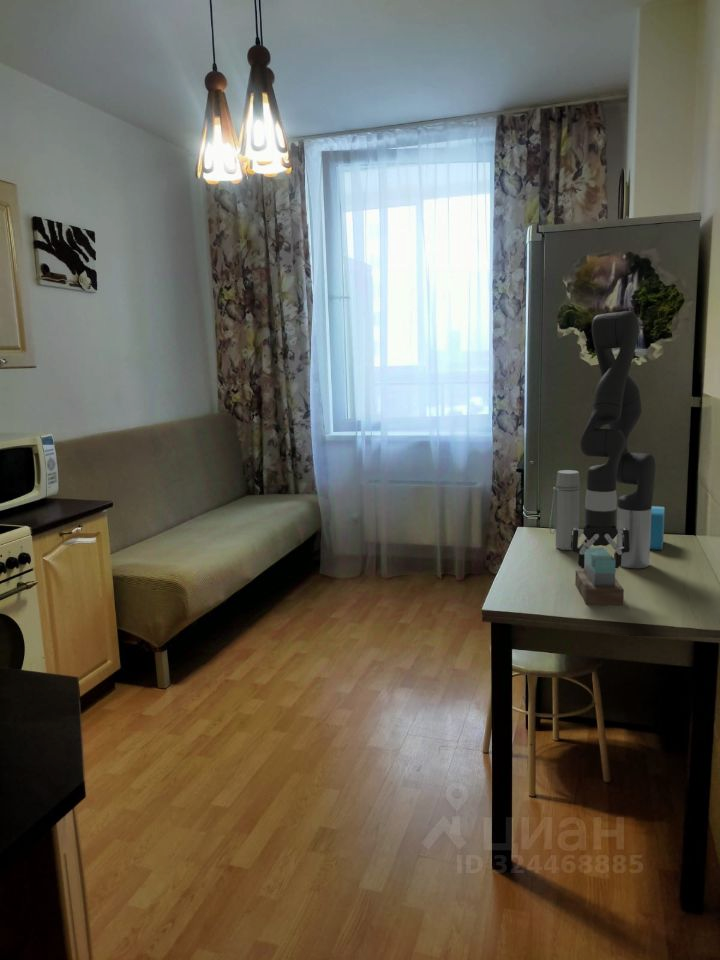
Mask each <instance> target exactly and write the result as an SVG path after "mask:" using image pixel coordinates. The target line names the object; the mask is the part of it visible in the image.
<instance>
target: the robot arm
mask: <svg viewBox="0 0 720 960" xmlns="http://www.w3.org/2000/svg"><path fill="white" fill-rule="evenodd" d="M639 332H640V323H639V318H638V315H637V314H636V313H635V312H634V311H631V310H625V311H618V312H617V311H616V312H615V311H614V312H608V313H601V314H600V313H599V314H597V315H595V316H594V317H593V319H592V323H591V335H592V342H593V346H594V350H595V354H596V355H595V356H596V357H597V358H596V359H597V362H598V363H597V364H598V366H599V370H600V377H601V378H600V380H599V381H598V383H597V385H596V387H595V391H594V394H593V401H592V408H591V410H592V411H591V413H590V417H589V419H588V422H587V423H586V426H585V428H584V431H583V432H582V435H581V438H580V440H579V447H580V450H581V452H582V453H583V455H584V456H587V457H597V458H598V457H603V458H608V459H607V462H606V463H603V464H596V465H593V466H589V468H588V469H587V472H586V474H587V475H586V493H585V502H584V507H585V509H584V510H585V512H584V513H585V514H584V527H583V529H582V528H579V529H576V528H572V535H571V547H570V548H571V550H570V551H572V552H573V553H577V565H578V566H579V567H580V569H584V558H585V555H584V553H585V551H586V550H587V549H589V548H591V547H592V546H594V547H599V546H604V547H607V546H608V545H610V546H611V547H612V549H613V550H614V551H615V552H614V553H613V558H614V559H615V569H619V567H622V568H626V569H644V568H648V567H649V566H650V559H651V558H650V557H651V556H650V554H651V552H650V551H651V549H650V536H651V511H652V506H653V499H654V489H655V488H654V487H655V480H656V479H655V478H656V469H657V467H656V466H657V465H656V459H655V457H654V456H653V454H650V453H644V452H630V451H629V450H628V439H629V437H630V434H631V432H632V431H633V429H634V428H635V426H636V424H637V423H638V421H639V420H640V417H641V415H642V412H643V411H642V409H643V408H642V403H641V402H642V401H641V395H640V388H639V387H638V385H637V384H636V383H635V381H634V379H632V377H631V376H630V375H629V372H630V369H631V366H632V362H633V359H634V355H635V351H636V348H637V343H638V340H639V339H638V338H639V335H640V334H639ZM613 349H619V351H618V354H617V356H616V358H615V354H614V352H613ZM605 425H608V428H602V427H603V426H605ZM617 483H620V484H624V485H626V484H627V485H635V486H636V487H637V488H636V491H635V492H634V491H633V492H632V493H628V494H624V495H621V496H619V497H618V496H617ZM617 497H618V498H617ZM582 535H583V536H584V537H585V539H584V540H583V541H582V543H581V544H580V545H579V546H578V547H577V543H578V544H579V538H580V537H581V536H582ZM615 538H616V542H615V541H614V539H615Z"/></svg>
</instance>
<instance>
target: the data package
mask: <svg viewBox="0 0 720 960" xmlns="http://www.w3.org/2000/svg"><path fill="white" fill-rule="evenodd" d="M665 513H666V510H665V506H657V505H655V506H654V505H652V511H651V536H650V550H654V551H655V550H656V551H662V550H663V547H664V531H665Z"/></svg>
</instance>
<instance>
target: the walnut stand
mask: <svg viewBox="0 0 720 960" xmlns="http://www.w3.org/2000/svg"><path fill="white" fill-rule="evenodd" d="M574 581H575V583H574V585H575V587H576V589H577V590H578V593H579V595H580V596H581V597H582V600H583V602H584V604H585V605H592V606H593V605H598V606H599V605H601V606H602V605H603V606H607V605H608V606H611V605H612V606H613V605H614V606H623V605H624V595H625V594H624V591H625V590H624V588H623V587H622V585H621V583H620V582H619V580H617V578H616V577H615V587H594V586H593V585H592V583H591V582H590V581H589V579H588V578H587V577H586V576H585V574H584V570H575V580H574Z"/></svg>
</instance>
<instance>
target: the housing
mask: <svg viewBox="0 0 720 960" xmlns="http://www.w3.org/2000/svg"><path fill="white" fill-rule="evenodd" d="M584 555H585V558H584V568H583V571H584V574H585V576H586V577H587V578H588V579H589V581H590V582H591V583H592V585H593V586H594V587H615V578H616V568H615V559H614V556H613V555H611V554H610V552H609V551H607V550H606V549H605V548H604V547H590V548H589V549H587V550H586V551H585V553H584Z"/></svg>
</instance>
